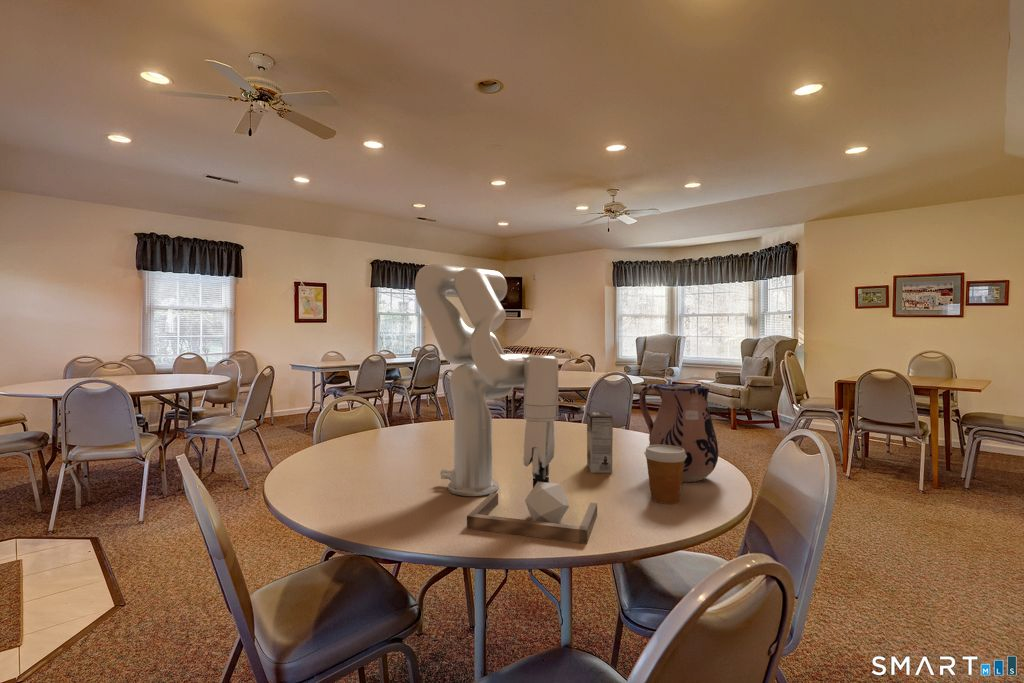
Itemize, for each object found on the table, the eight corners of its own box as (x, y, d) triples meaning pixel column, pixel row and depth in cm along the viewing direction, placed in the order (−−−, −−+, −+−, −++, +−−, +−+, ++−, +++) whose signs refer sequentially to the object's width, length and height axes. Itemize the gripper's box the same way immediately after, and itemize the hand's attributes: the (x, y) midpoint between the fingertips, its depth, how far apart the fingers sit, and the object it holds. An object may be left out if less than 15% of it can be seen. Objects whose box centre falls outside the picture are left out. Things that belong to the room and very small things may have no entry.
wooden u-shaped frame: (466, 528, 97) (466, 515, 97) (492, 503, 111) (492, 492, 111) (586, 543, 90) (586, 530, 90) (597, 514, 104) (597, 503, 104)
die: (573, 520, 103) (554, 478, 107) (577, 514, 95) (555, 468, 99) (538, 536, 101) (520, 493, 106) (538, 531, 94) (519, 485, 98)
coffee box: (586, 464, 145) (586, 410, 145) (607, 464, 145) (607, 410, 145) (590, 473, 136) (590, 415, 136) (613, 473, 136) (613, 415, 135)
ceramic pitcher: (713, 492, 119) (713, 390, 119) (628, 479, 130) (629, 386, 129) (722, 474, 135) (722, 384, 134) (645, 464, 145) (645, 380, 145)
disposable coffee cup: (639, 492, 119) (640, 443, 119) (679, 493, 119) (679, 444, 118) (649, 506, 109) (649, 453, 109) (692, 506, 109) (692, 453, 109)
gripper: (532, 406, 114) (532, 484, 114) (514, 416, 100) (514, 505, 100) (564, 407, 112) (564, 486, 112) (550, 418, 98) (550, 509, 98)
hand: (540, 495), depth 106 cm, fingers closed
